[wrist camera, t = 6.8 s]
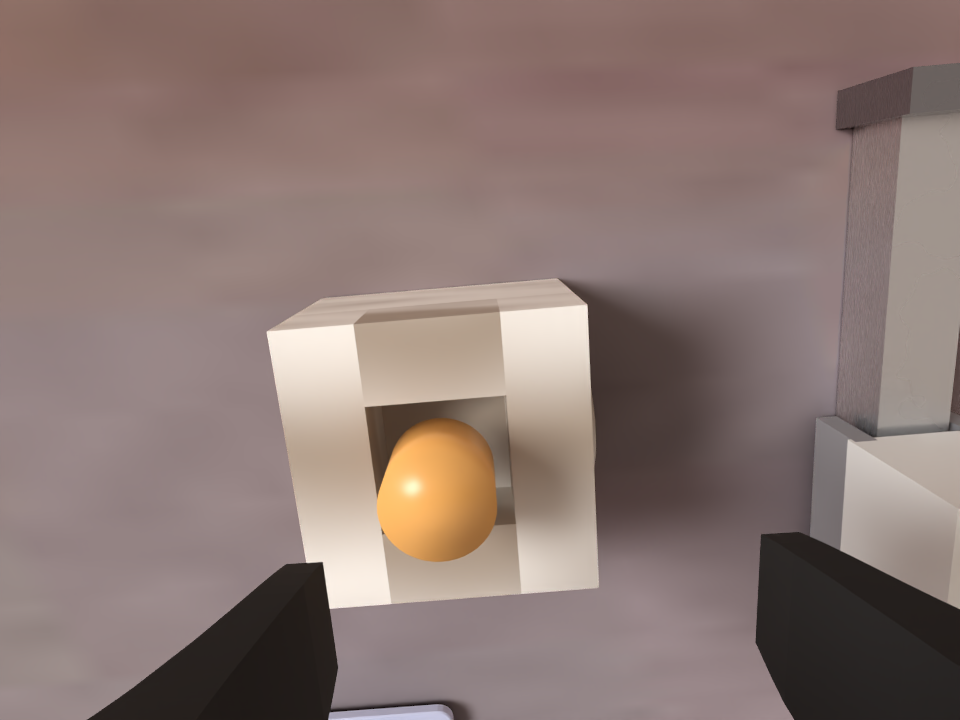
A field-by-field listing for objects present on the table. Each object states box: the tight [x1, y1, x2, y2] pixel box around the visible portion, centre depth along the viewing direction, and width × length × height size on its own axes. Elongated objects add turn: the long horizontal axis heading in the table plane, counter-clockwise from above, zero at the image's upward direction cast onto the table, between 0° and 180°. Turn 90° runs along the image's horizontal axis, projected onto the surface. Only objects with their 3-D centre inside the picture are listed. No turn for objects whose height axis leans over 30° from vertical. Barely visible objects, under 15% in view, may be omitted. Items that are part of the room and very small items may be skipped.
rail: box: [836, 63, 960, 438], centre depth 17 cm, size 16×3×3 cm, turn 5°
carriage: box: [810, 411, 960, 609], centre depth 16 cm, size 5×4×6 cm
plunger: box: [377, 418, 497, 562], centre depth 13 cm, size 2×2×2 cm
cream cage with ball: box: [267, 278, 599, 609], centre depth 17 cm, size 7×7×5 cm
